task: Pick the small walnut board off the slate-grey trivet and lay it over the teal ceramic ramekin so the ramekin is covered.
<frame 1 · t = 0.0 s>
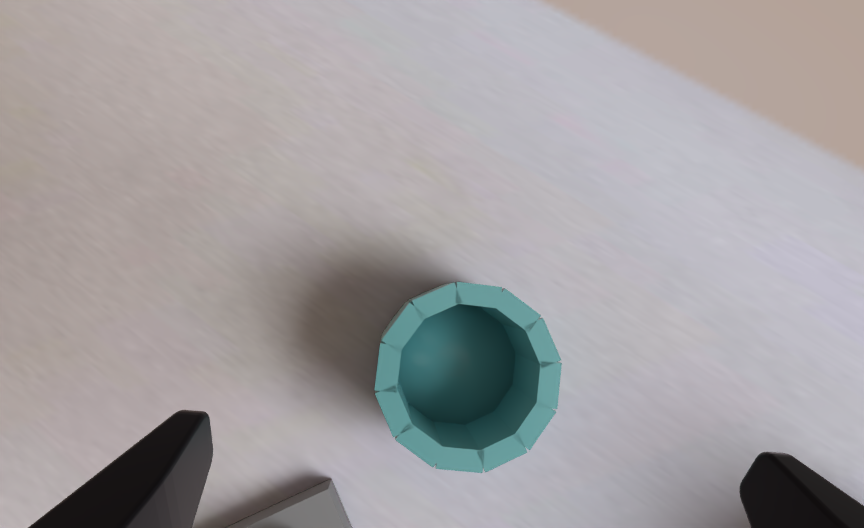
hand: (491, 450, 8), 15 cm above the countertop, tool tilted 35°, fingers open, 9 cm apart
ramekin: (453, 360, 23), on the countertop
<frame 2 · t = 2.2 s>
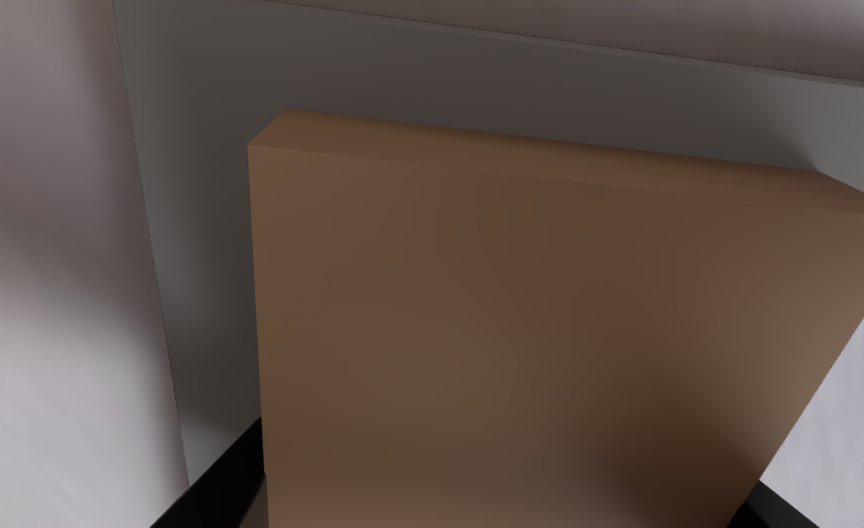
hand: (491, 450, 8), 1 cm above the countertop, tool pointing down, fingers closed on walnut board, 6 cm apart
trivet: (481, 388, 9), on the countertop
walnut board: (489, 438, 8), point 1 cm above the countertop, touching gripper, trivet
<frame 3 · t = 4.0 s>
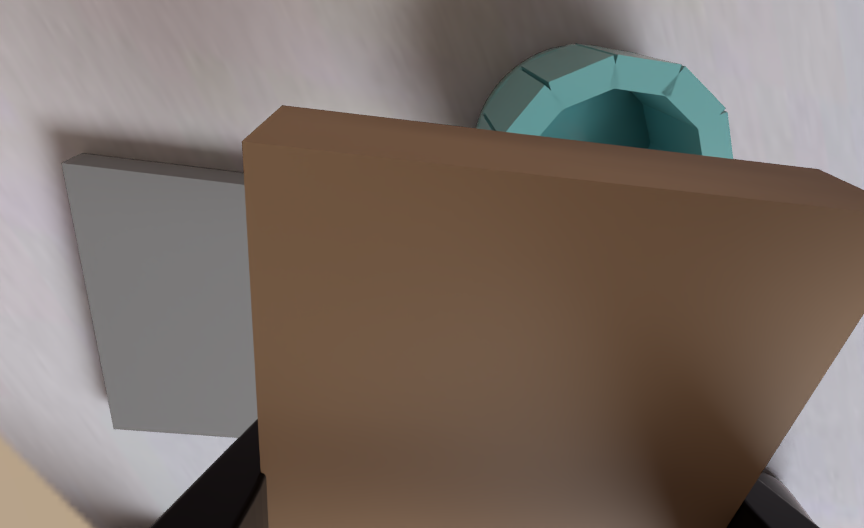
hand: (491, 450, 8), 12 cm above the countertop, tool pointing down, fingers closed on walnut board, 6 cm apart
supplement bottle: (720, 503, 28), on the countertop
trivet: (234, 310, 21), on the countertop
ramekin: (566, 146, 18), on the countertop
walnut board: (487, 438, 8), point 12 cm above the countertop, touching gripper
when the fingers open (6 cm above the countertop, at t = 5.8 s): walnut board drops 1 cm, resting on ramekin.
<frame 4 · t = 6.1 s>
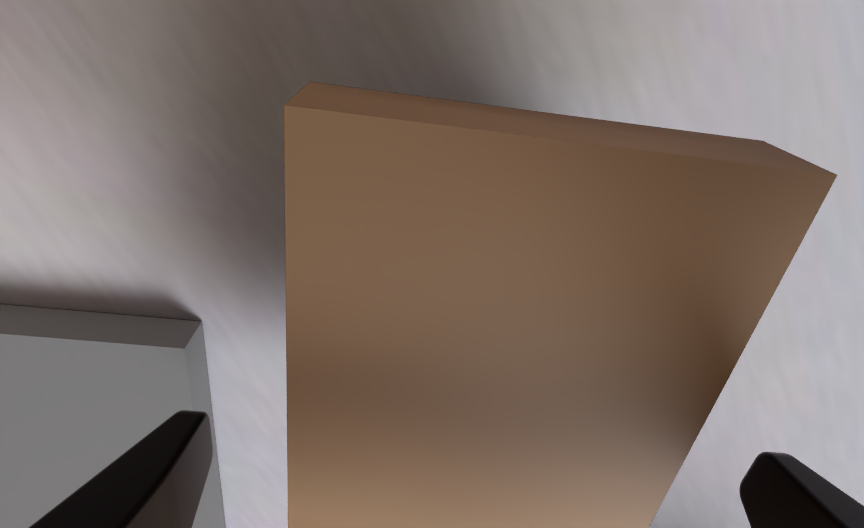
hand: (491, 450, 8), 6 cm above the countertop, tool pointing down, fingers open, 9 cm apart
trivet: (61, 457, 17), on the countertop
walnut board: (481, 383, 9), point 4 cm above the countertop, touching ramekin
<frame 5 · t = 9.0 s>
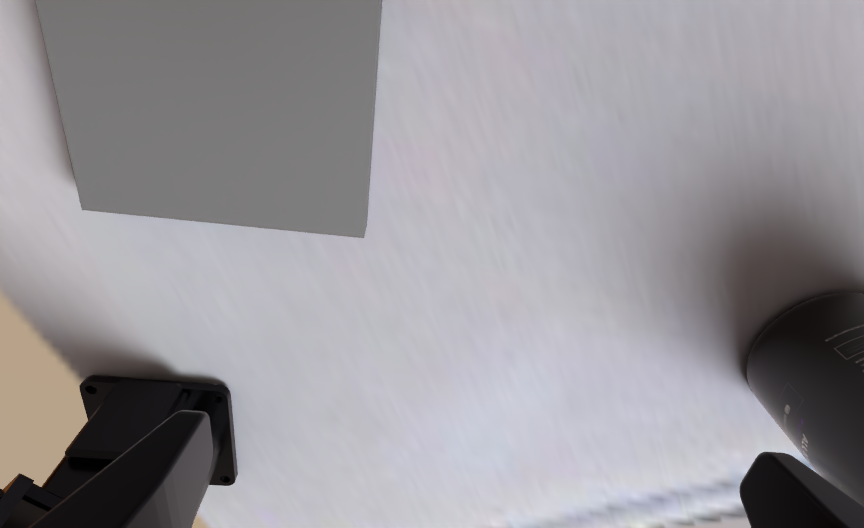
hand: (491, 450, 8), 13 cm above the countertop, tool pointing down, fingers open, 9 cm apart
supplement bottle: (812, 346, 24), on the countertop
trivet: (225, 42, 17), on the countertop
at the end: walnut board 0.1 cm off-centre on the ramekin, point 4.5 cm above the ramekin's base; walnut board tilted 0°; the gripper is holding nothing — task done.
